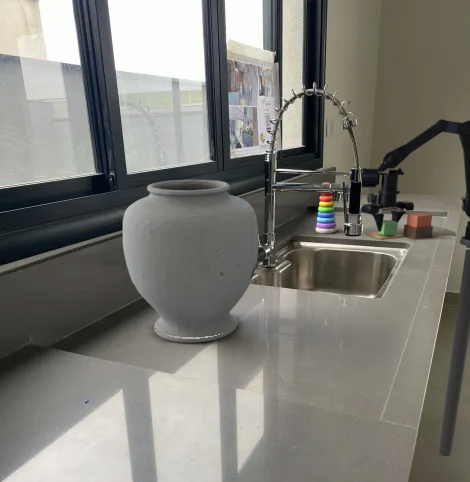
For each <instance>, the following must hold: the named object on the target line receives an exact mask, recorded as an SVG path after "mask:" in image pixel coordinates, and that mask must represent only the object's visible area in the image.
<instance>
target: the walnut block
mask: <svg viewBox="0 0 470 482" xmlns="http://www.w3.org/2000/svg"><path fill="white" fill-rule="evenodd" d="M433 229H434V226H433V225H431V226H428V227H418V228H416V227H413V226H409V225H407V223H405V224H404V225H403V234H402V235H405V237H407V238H410V239H413V240H419V239H420V240H421V239H428V238H429V239H430V238H433V231H434V230H433Z"/></svg>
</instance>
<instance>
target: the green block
mask: <svg viewBox="0 0 470 482" xmlns="http://www.w3.org/2000/svg"><path fill="white" fill-rule="evenodd" d="M398 225H399V222H396V221H393V220H392V219H385V220H384V219H383V224H382V228H381V232H379V231H378V230H377V232H378V233H380V234H382V235H397V233H398Z"/></svg>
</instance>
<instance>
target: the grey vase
mask: <svg viewBox="0 0 470 482" xmlns="http://www.w3.org/2000/svg"><path fill="white" fill-rule="evenodd" d="M146 190H147V191H148V192H149V194H148V195H147V196H144V197H143V198H140V199H138V200H136V201H134V202H133V203H132V204H130V205H129V206H128V207H127V208H126V209H125V212H124V214H123V218H122V249H123V254H124V260H125V264H126V268H127V272H128V275H129V277H130V279H131V282H132V283H133V285H134V288H135V289H136V290H137V292H138V293H139V295H140V296H141V297H142V298H143V299H144V300H145V301H146V302H147V304H149V305H150V306H151V308H153V309H154V311H156V312H157V313H158V315H159V316H160V317H158V319H157V320H156V321H155V323H154V326H153V329H154V332H155V333H156V334H157V336H158V337H161V338H162V339H164V340H167V341H170V342H174V343H183V344H184V343H187V344H191V343H192V344H195V343H205V342H210V341H216V340H219V339H222V338H225V337H227V336H229V335H231V334H232V333H233V332H234V331H236V329H237V327H238V320H237V318H236V317H235V316H234V315H233V314H232V313H231V311H232V310H233V309H234V308H235V306H237V304H238V303H239V301H241V299H242V298H243V296H244V295H245V294H246V291H247V290H248V289H249V286H250V284H251V282H252V279H253V277H254V274H255V272H256V268H257V264H258V263H257V262H258V257H259V227H258V219H257V214H256V212H255V209H254V208H253V207H252V205H251V204H250V202H248V201H247V200H245V199H244V198H240V197H239V196H236V195H231V194H229V193H228V191H229V190H230V184H229V183H227V182H226V181H221V180H209V179H175V180H174V179H172V180H163V181H159V182H158V181H157V182H153V183H151V184H148V185H147V187H146ZM155 328H156V329H157V330H158V331H160V332H162V333H164V334H167V335H172V336H179V337H194V338H195V337H205V336H213V337H208V338H200V339H182V338H175V337H170V336H167V335H164V334H162V333H160V332H158V331H157V330H156V329H155ZM222 333H223V334H222ZM218 334H220V335H218ZM214 335H217V336H214Z"/></svg>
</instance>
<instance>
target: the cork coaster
mask: <svg viewBox="0 0 470 482" xmlns="http://www.w3.org/2000/svg"><path fill="white" fill-rule="evenodd" d="M366 235H369V236H371V237H374V238H376V239H379V240H385V239H386V240H387V239H397V238H404V237H405V238H406V236H405V235H403V234H402V233H399V232H397V235H382V234H380V233H378V231H372V232H366Z"/></svg>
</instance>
